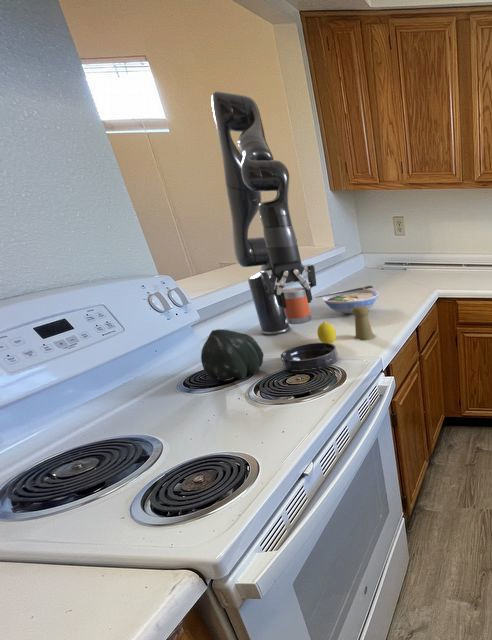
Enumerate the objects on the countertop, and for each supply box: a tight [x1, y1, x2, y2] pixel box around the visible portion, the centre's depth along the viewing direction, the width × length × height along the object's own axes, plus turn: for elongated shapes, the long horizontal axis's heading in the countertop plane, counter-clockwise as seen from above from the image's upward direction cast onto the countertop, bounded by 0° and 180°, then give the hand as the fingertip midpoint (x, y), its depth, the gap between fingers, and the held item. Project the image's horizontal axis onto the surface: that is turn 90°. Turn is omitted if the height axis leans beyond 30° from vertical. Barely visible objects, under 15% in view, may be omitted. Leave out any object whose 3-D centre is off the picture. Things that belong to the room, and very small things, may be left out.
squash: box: [200, 328, 264, 382], centre depth 115 cm, size 14×15×15 cm
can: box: [281, 287, 313, 325], centre depth 118 cm, size 6×6×9 cm
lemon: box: [316, 321, 337, 344], centre depth 137 cm, size 6×6×8 cm
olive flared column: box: [352, 306, 375, 341], centre depth 143 cm, size 6×6×11 cm
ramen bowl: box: [315, 285, 380, 315], centre depth 175 cm, size 25×23×8 cm
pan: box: [280, 342, 339, 373], centre depth 123 cm, size 15×15×4 cm
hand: (295, 304), depth 118 cm, fingers closed on can, 6 cm apart
